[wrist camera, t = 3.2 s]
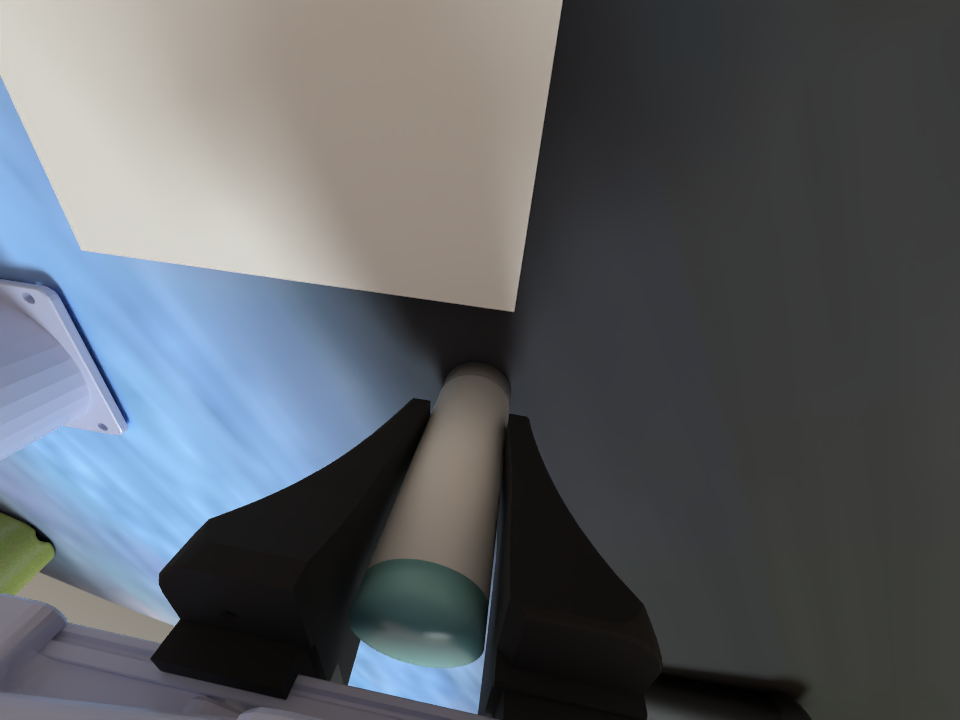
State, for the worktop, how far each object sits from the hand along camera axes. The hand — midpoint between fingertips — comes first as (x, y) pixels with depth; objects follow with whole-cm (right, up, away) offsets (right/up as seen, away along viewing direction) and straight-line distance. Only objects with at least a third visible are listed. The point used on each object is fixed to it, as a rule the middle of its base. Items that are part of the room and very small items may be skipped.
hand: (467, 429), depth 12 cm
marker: (0, +1, +2) cm, 2 cm away
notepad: (-6, +11, -2) cm, 12 cm away
